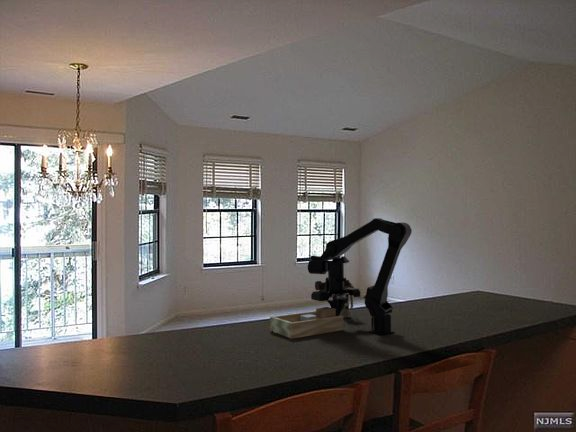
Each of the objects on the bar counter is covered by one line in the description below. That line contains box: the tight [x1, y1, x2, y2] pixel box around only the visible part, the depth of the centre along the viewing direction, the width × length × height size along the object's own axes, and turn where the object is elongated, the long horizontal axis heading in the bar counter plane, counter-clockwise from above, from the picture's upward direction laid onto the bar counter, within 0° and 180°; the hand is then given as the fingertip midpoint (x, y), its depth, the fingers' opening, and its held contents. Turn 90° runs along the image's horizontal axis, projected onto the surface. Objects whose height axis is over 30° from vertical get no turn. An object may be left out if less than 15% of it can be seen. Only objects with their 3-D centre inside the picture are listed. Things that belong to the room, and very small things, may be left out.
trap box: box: [269, 310, 344, 339], centre depth 181 cm, size 14×22×5 cm, turn 123°
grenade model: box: [339, 279, 355, 319], centre depth 204 cm, size 6×7×15 cm
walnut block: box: [315, 306, 336, 319], centre depth 182 cm, size 5×5×5 cm
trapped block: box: [300, 314, 316, 321], centre depth 186 cm, size 4×4×4 cm
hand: (336, 317), depth 185 cm, fingers closed
